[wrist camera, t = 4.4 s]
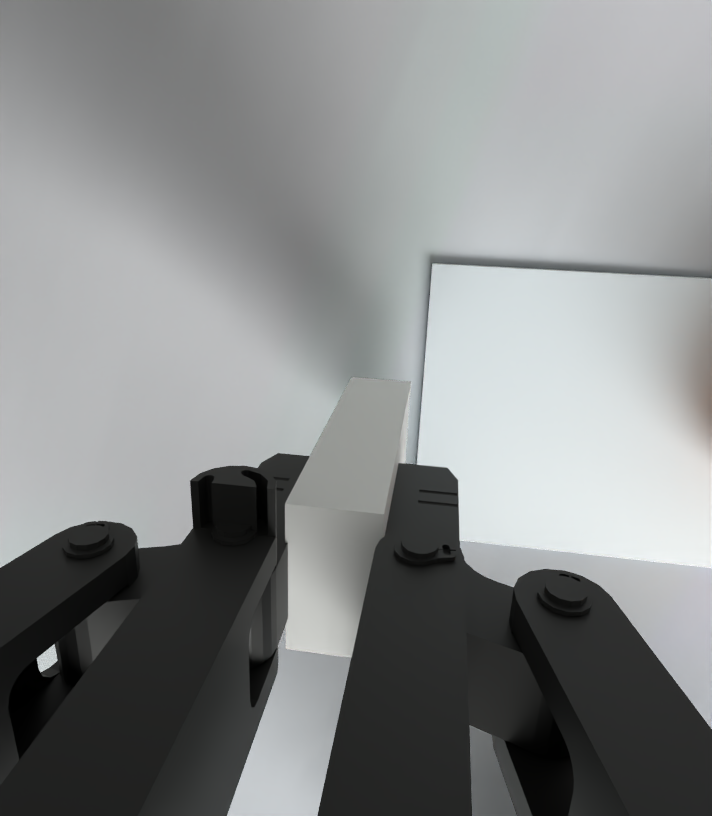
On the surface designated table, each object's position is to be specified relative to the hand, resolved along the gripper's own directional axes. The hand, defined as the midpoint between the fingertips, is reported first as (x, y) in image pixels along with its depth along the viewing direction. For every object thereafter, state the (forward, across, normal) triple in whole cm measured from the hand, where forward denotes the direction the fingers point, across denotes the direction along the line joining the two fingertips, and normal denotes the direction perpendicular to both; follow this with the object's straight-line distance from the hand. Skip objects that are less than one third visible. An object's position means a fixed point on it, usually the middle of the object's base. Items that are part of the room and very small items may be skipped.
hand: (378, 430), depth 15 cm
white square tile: (+2, -6, 0) cm, 6 cm away
